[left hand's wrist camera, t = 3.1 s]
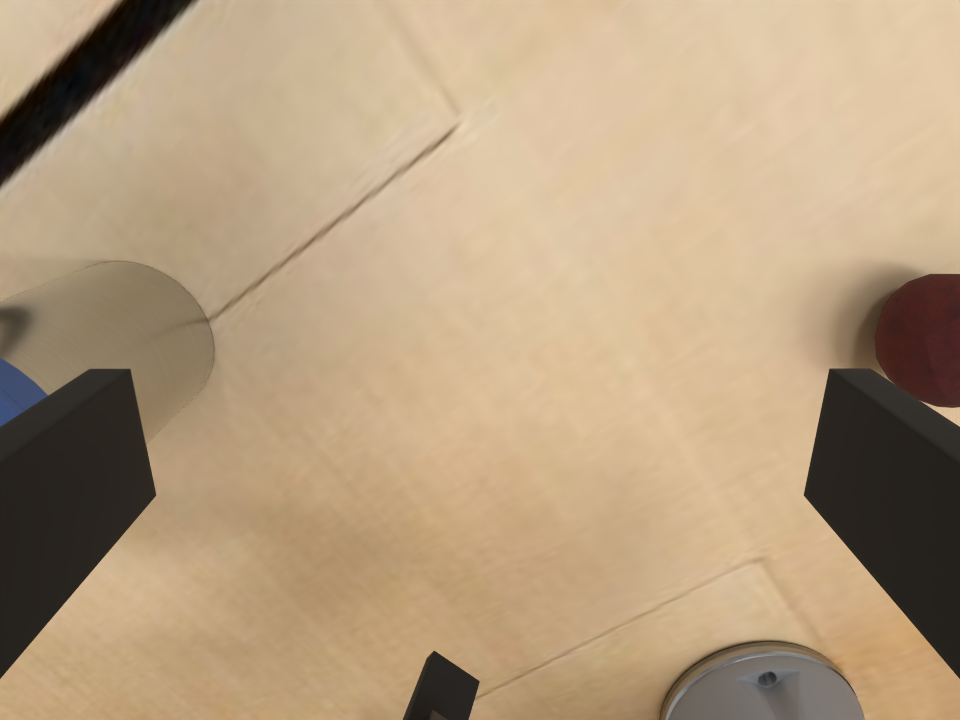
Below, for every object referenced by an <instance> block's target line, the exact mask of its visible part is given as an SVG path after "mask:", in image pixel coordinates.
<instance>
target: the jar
mask: <svg viewBox="0 0 960 720" xmlns="http://www.w3.org/2000/svg"><path fill="white" fill-rule="evenodd" d="M0 358H2V359H3V360H5V361H7V362H8V363H10V364H11V365H13V366H14V367H16V368H17V369H19V370H20V371H21V372H23V373H24V374H25V375H27V376H28V377H29V378H30V379H32V380H33V381H34V382H35V383H36V384H37V385H38V386H39V387H40V388H41V389H42V390H43V391H44V392H45V393H46V394H47V395H50V394H52V393H53V392H55V391H56V390H58V389H59V388H61V387H62V386H64V385H65V384H67V383H68V382H70V381H72V380H73V379H75V378H76V377H78V376H79V375H81V374H82V373H84V372H85V371H87V370H88V369H131V374H132V379H133V384H134V389H135V393H136V398H137V403H138V408H139V413H140V418H141V423H142V428H143V433H144V438H145V443H146V444H147V443H148V442H149V441H150V440H151V439H152V438H153V437H154V436H155V435H156V434H157V433H158V432H159V431H160V430H161V429H162V428H163V427H164V426H165V425H166V424H167V423H168V422H169V421H170V420H171V419H172V418H173V417H174V416H175V415H176V414H177V413H179V412H180V411H181V410H182V409H183V408H184V407H185V406H186V405H187V404H188V403H189V402H190V401H191V400H192V399H193V398H194V397H195V396H196V395H197V394H198V393H199V392H200V390H201V389H202V388H203V386H204V385H205V383H206V382H207V380H208V378H209V376H210V373H211V370H212V366H213V361H214V342H213V336H212V332H211V328H210V326H209V323H208V321H207V318H206V316H205V315H204V313H203V311H202V309H201V308H200V306H199V305H198V303H197V302H196V300H195V299H194V298H193V297H192V296H191V295H190V294H189V292H188V291H186V290H185V289H184V288H183V287H182V286H181V285H180V284H179V283H177V282H176V281H174V280H173V279H172V278H170V277H169V276H167V275H165V274H163V273H161V272H160V271H157V270H155V269H153V268H150V267H147V266H144V265H141V264H137V263H131V262H121V261H113V262H104V263H99V264H95V265H92V266H90V267H87V268H84V269H82V270H79V271H77V272H74V273H72V274H69V275H66V276H64V277H61V278H59V279H56V280H54V281H51V282H48V283H46V284H43V285H41V286H38V287H36V288H33V289H30V290H28V291H25V292H23V293H20V294H18V295H15V296H12V297H10V298H7V299H5V300H2V301H0Z"/></svg>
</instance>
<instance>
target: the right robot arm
mask: <svg viewBox="0 0 960 720" xmlns="http://www.w3.org/2000/svg"><path fill="white" fill-rule="evenodd" d="M479 682H480V681H478V680H477V679H475V678H474V677H472V676H471V675H469V674H468V673H466V672H465V671H464V670H462V669H461V668H459V667H458V666H456V665H455V664H453V663H452V662H450V661H449V660H447V659H446V658H444V657H443V656H441V655H440V654H438V653H437V652H435V651H433V652H432V654H431V655H430V656H429V657H428V658H427V659H426V662H425V664H424V667H423V669H422V672H421V675H420V677H419V680H418V682H417V685H416V687H415V690H414V692H413V695H412V697H411V700H410V703H409V705H408V708H407V710H406V713H405V715H404V718H403V720H469V716H470V713H471V709H472V706H473V702H474V699H475V696H476V692H477V689H478V685H479ZM660 720H865V719H864V715H863V711H862V708H861V705H860V703H859V701H858V699H857V696H856V694H855V692H854V690H853V689H852V687H851V686H850V684H849V683H848V681H847V680H846V678H845V676H844V675H843V673H842V672H841V671H840V669H839V668H838V667H837V666H836V665H835V664H834V663H833V662H832V661H830V660H829V659H828V658H826V657H825V656H823V655H821V654H820V653H818V652H816V651H813V650H811V649H809V648H806V647H803V646H799V645H795V644H789V643H782V642H759V643H750V644H744V645H740V646H736V647H732V648H729V649H726V650H723V651H721V652H718V653H716V654H714V655H712V656H710V657H707V658H706V659H704V660H702V661H701V662H699V663H698V664H696V665H695V666H693V667H692V668H691V669H689V670H688V671H687V672H686V673H685V674H684V675H683V676H682V677H681V678H680V679H679V680H678V681H677V682H676V683H675V685H674V686H673V687H672V689H671V690H670V692H669V693H668V695H667V697H666V699H665V702H664V704H663V707H662V711H661V717H660Z"/></svg>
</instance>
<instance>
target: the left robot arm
mask: <svg viewBox="0 0 960 720" xmlns="http://www.w3.org/2000/svg"><path fill="white" fill-rule="evenodd" d="M155 496H156V492H155V487H154V482H153V477H152V472H151V467H150V462H149V457H148V452H147V447H146V443H145V438H144V433H143V428H142V423H141V418H140V413H139V408H138V403H137V398H136V393H135V389H134V384H133V379H132V374H131V369H88V370H87V371H85V372H84V373H82V374H81V375H79V376H78V377H76V378H75V379H73V380H72V381H70V382H68V383H67V384H65V385H64V386H62V387H61V388H59V389H58V390H56V391H55V392H53V393H52V394H50V395H48V396H47V397H45V398H44V399H42V400H41V401H39V402H38V403H36V404H35V405H33V406H32V407H30V408H29V409H27V410H25V411H24V412H22V413H21V414H19V415H18V416H16V417H15V418H13V419H12V420H10V421H9V422H7V423H5V424H4V425H2V426H1V427H0V678H1V677H2V676H3V675H4V674H5V673H6V671H7V670H8V669H9V668H10V667H11V666H12V664H13V663H14V662H15V661H16V660H17V658H18V657H19V656H20V655H21V654H22V653H23V651H24V650H25V649H26V648H27V647H28V646H29V644H30V643H31V642H32V641H33V640H34V638H35V637H36V636H37V635H38V634H39V633H40V631H41V630H42V629H43V628H44V627H45V626H46V624H47V623H48V622H49V621H50V620H51V618H52V617H53V616H54V615H55V614H56V613H57V611H58V610H59V609H60V608H61V607H62V606H63V604H64V603H65V602H66V601H67V600H68V598H69V597H70V596H71V595H72V594H73V593H74V591H75V590H76V589H77V588H78V587H79V586H80V584H81V583H82V582H83V581H84V580H85V579H86V577H87V576H88V575H89V574H90V573H91V571H92V570H93V569H94V568H95V567H96V566H97V564H98V563H99V562H100V561H101V560H102V559H103V557H104V556H105V555H106V554H107V553H108V551H109V550H110V549H111V548H112V547H113V546H114V544H115V543H116V542H117V541H118V540H119V539H120V537H121V536H122V535H123V534H124V533H125V531H126V530H127V529H128V528H129V527H130V526H131V524H132V523H133V522H134V521H135V520H136V519H137V517H138V516H139V515H140V514H141V513H142V511H143V510H144V509H145V508H146V507H147V506H148V504H149V503H150V502H151V501H152V500H153V499H154V497H155ZM804 496H805V497H806V499H807V500H808V501H809V502H810V503H811V504H812V506H813V507H814V508H815V509H816V510H817V511H818V513H819V514H820V515H821V516H822V517H823V519H824V520H825V521H826V522H827V523H828V524H829V526H830V527H831V528H832V529H833V530H834V531H835V533H836V534H837V535H838V536H839V537H840V539H841V540H842V541H843V542H844V543H845V544H846V546H847V547H848V548H849V549H850V550H851V551H852V553H853V554H854V555H855V556H856V557H857V559H858V560H859V561H860V562H861V563H862V564H863V566H864V567H865V568H866V569H867V570H868V571H869V573H870V574H871V575H872V576H873V577H874V579H875V580H876V581H877V582H878V583H879V584H880V586H881V587H882V588H883V589H884V590H885V591H886V593H887V594H888V595H889V596H890V597H891V598H892V600H893V601H894V602H895V603H896V604H897V606H898V607H899V608H900V609H901V610H902V611H903V613H904V614H905V615H906V616H907V617H908V618H909V620H910V621H911V622H912V623H913V624H914V626H915V627H916V628H917V629H918V630H919V631H920V633H921V634H922V635H923V636H924V637H925V638H926V640H927V641H928V642H929V643H930V644H931V646H932V647H933V648H934V649H935V650H936V651H937V653H938V654H939V655H940V656H941V657H942V658H943V660H944V661H945V662H946V663H947V664H948V666H949V667H950V668H951V669H952V670H953V671H954V673H955V674H956V675H957V676H958V677H959V678H960V427H959V426H958V425H956V424H955V423H953V422H951V421H950V420H948V419H947V418H945V417H944V416H942V415H941V414H939V413H938V412H936V411H935V410H933V409H931V408H930V407H928V406H927V405H925V404H924V403H922V402H921V401H919V400H918V399H916V398H915V397H913V396H912V395H910V394H908V393H907V392H905V391H904V390H902V389H901V388H899V387H898V386H896V385H895V384H893V383H892V382H890V381H888V380H887V379H885V378H884V377H882V376H881V375H879V374H878V373H876V372H875V371H873V370H872V369H829V374H828V379H827V384H826V389H825V393H824V398H823V403H822V408H821V413H820V418H819V423H818V428H817V433H816V438H815V443H814V447H813V452H812V457H811V462H810V467H809V472H808V477H807V482H806V487H805V492H804Z"/></svg>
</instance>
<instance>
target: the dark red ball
mask: <svg viewBox="0 0 960 720" xmlns="http://www.w3.org/2000/svg"><path fill="white" fill-rule="evenodd" d="M875 346H876V358H877V360H878V362H879V364H880V366H881V367H882V369H883V370H884V372H885V374H886V375H887V377H888V378H889V380H891V381H892V382H893V383H894V384H895V385H896V386H898V387H899V388H901V389H902V390H904V391H905V392H907V393H908V394H910V395H912V396H913V397H915V398H916V399H918V400H920V401H923V402H925V403H928V404H931V405H934V406H937V407H949V408H954V407H960V274H929V275H926V276H923V277H920V278H918V279H915V280H912V281H909V282H908V283H906V284H904V285H903V286H902V287H901V288H900V289H898V290H897V291H896V292H895V293H894V294H892V295H891V297H890V298H889V300H888V301H887V303H886V305H885V306H884V308H883V309H882V312H881V316H880V319H879V323H878V326H877V330H876V334H875Z"/></svg>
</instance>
